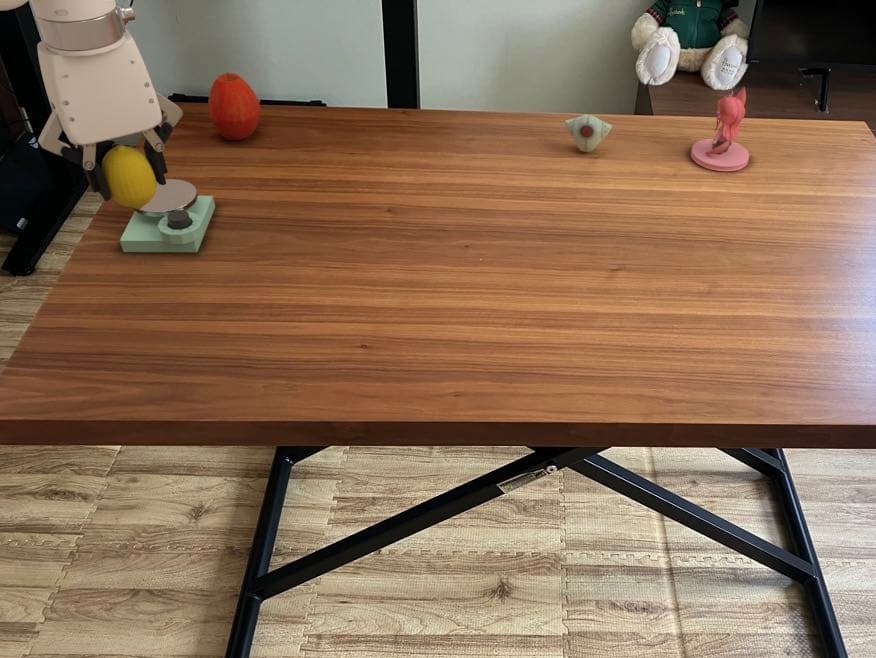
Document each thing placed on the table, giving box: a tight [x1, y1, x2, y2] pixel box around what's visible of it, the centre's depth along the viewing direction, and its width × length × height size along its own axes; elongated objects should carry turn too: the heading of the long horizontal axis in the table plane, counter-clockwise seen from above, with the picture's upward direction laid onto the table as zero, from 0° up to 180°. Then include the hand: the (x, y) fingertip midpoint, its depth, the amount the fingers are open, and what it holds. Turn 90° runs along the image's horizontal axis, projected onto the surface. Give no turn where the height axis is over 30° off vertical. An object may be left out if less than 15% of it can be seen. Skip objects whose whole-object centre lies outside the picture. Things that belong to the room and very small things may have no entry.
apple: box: [207, 72, 261, 142], centre depth 142 cm, size 8×8×11 cm
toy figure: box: [690, 86, 750, 172], centre depth 144 cm, size 10×10×12 cm
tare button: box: [167, 210, 191, 230], centre depth 120 cm, size 3×3×2 cm
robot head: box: [564, 114, 613, 153], centre depth 145 cm, size 8×4×7 cm, turn 82°
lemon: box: [100, 144, 157, 209], centre depth 99 cm, size 6×6×8 cm
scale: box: [119, 195, 216, 253], centre depth 124 cm, size 13×11×4 cm
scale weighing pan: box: [132, 178, 199, 217], centre depth 124 cm, size 9×9×1 cm
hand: (131, 186), depth 100 cm, fingers closed on lemon, 5 cm apart
